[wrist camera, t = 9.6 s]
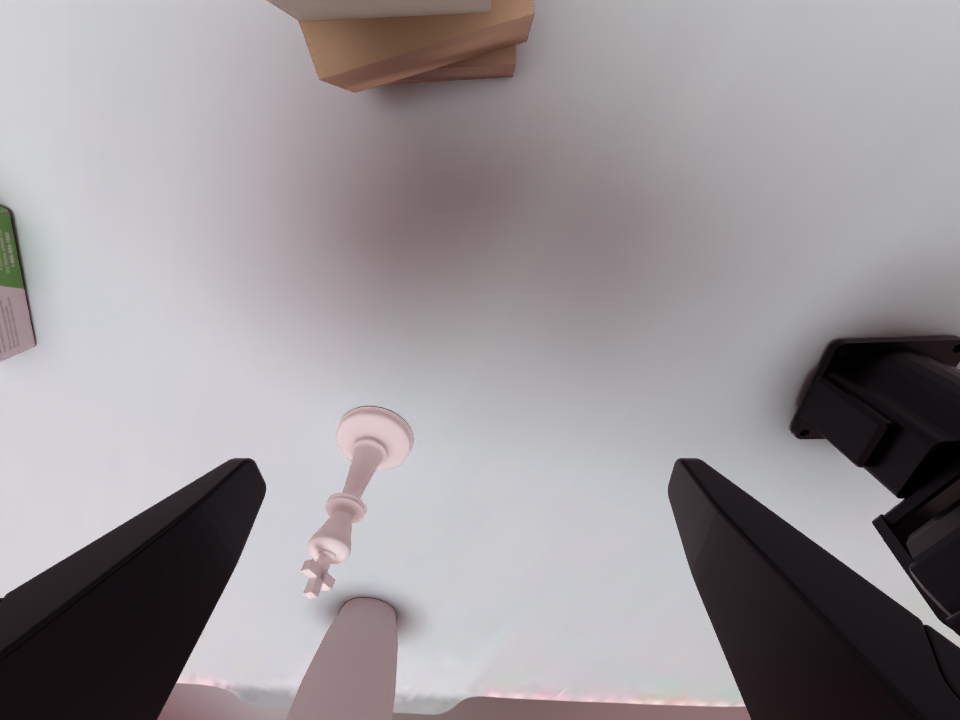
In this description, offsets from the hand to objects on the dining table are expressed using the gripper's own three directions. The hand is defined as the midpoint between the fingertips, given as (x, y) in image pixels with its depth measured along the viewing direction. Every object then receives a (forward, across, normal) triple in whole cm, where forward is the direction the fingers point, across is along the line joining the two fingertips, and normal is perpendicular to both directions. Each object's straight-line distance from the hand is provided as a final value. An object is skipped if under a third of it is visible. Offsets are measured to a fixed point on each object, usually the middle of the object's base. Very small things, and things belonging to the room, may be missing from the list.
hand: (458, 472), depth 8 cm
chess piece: (+13, +8, +10) cm, 18 cm away
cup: (+13, +12, +32) cm, 37 cm away
